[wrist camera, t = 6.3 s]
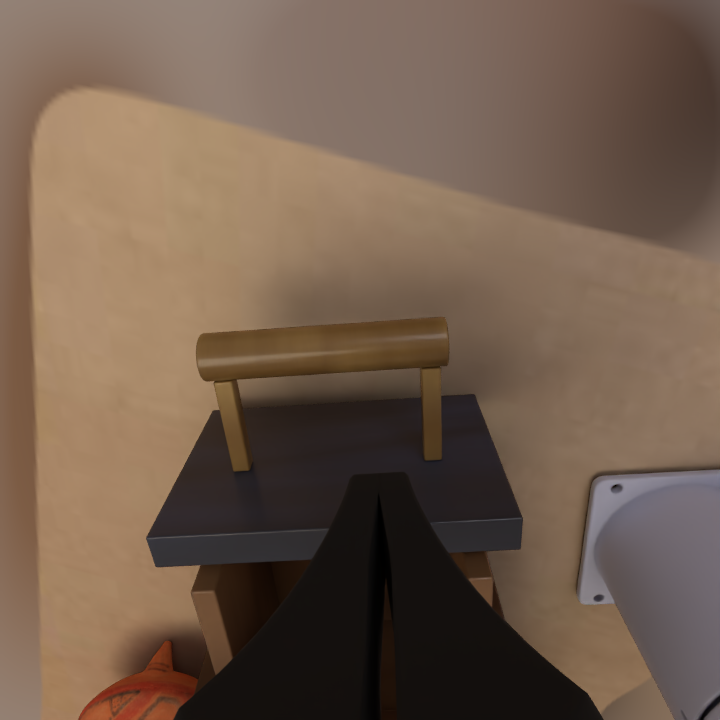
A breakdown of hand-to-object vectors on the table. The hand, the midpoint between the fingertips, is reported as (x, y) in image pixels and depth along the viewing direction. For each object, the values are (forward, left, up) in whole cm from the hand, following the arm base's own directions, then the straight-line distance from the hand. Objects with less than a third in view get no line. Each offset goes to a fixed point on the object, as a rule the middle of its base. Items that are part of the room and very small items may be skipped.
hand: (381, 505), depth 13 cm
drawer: (+2, +6, -9) cm, 11 cm away
